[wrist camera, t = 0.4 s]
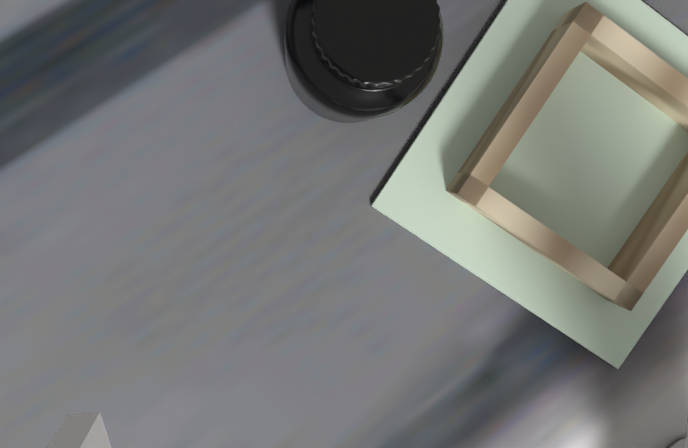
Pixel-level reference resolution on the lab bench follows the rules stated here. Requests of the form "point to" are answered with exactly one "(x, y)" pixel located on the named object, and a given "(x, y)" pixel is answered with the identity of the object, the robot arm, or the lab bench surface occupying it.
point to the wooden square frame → (519, 112)
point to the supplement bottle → (361, 54)
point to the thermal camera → (678, 444)
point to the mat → (551, 171)
